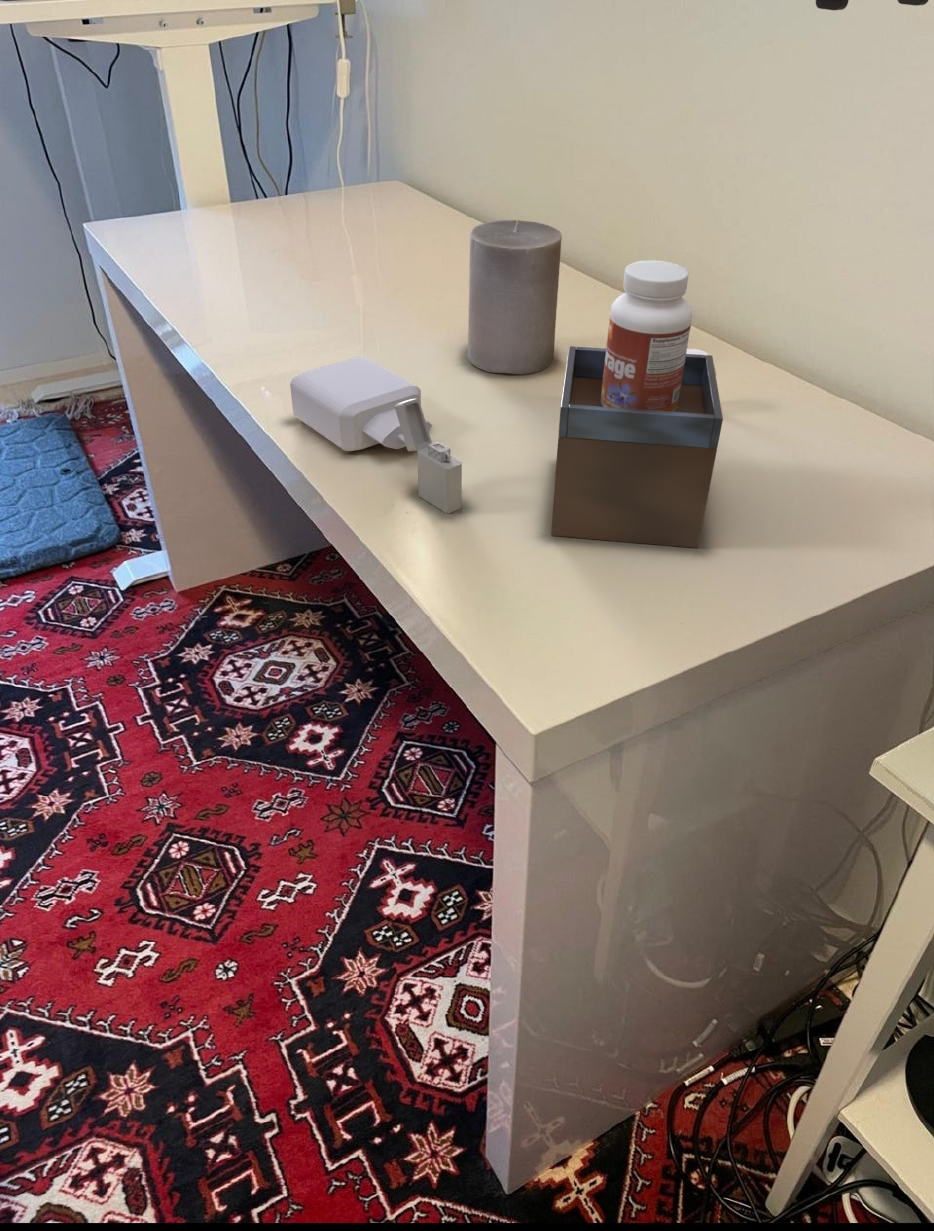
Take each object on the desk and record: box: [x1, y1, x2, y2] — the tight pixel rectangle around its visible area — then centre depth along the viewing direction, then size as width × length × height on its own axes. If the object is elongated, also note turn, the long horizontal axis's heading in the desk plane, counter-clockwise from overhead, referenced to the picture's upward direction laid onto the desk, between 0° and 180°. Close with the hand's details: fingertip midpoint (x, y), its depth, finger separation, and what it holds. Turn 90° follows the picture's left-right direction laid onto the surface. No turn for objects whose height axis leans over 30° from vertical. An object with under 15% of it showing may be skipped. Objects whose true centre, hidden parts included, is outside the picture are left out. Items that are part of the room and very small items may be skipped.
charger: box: [289, 356, 433, 452], centre depth 91 cm, size 5×9×15 cm
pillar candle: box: [467, 219, 563, 375], centre depth 103 cm, size 10×10×15 cm
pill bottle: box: [601, 260, 693, 412], centre depth 74 cm, size 6×6×11 cm
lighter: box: [395, 398, 463, 515], centre depth 81 cm, size 7×2×8 cm, turn 40°
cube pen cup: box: [550, 345, 724, 549], centre depth 79 cm, size 12×12×12 cm
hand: (872, 6), depth 66 cm, fingers open, 8 cm apart
